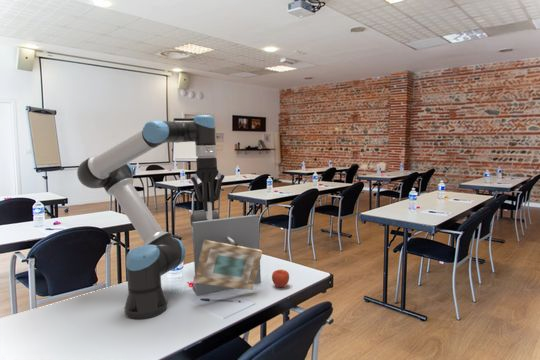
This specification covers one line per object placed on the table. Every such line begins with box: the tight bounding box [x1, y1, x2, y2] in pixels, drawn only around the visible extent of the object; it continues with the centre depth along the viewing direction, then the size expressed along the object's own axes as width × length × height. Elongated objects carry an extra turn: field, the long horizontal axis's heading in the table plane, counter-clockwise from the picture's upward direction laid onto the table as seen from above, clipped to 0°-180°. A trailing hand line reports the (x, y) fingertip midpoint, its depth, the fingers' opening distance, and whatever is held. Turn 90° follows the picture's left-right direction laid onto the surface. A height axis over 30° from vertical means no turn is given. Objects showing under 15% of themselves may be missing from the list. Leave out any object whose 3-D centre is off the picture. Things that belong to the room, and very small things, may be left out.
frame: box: [193, 240, 263, 291], centre depth 143 cm, size 24×4×18 cm, turn 114°
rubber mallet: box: [189, 210, 220, 227], centre depth 171 cm, size 12×8×30 cm, turn 120°
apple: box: [271, 269, 290, 288], centre depth 155 cm, size 7×7×8 cm
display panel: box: [191, 214, 262, 296], centre depth 153 cm, size 28×15×30 cm, turn 114°
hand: (209, 219), depth 139 cm, fingers closed
